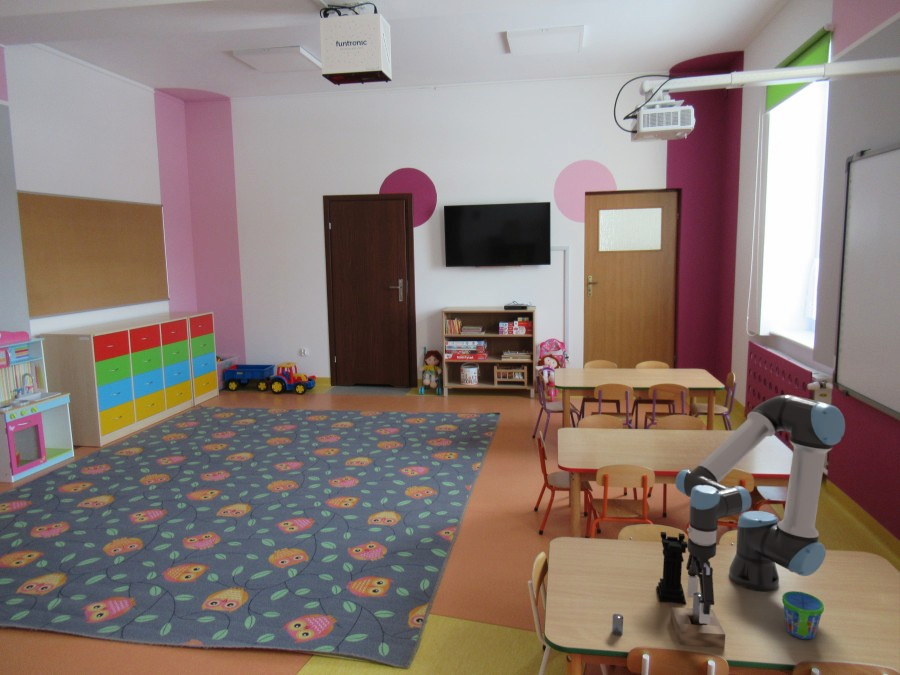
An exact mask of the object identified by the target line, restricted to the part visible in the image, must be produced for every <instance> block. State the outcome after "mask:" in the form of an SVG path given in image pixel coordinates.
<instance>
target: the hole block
mask: <svg viewBox="0 0 900 675" xmlns="http://www.w3.org/2000/svg"><path fill="white" fill-rule="evenodd" d="M692 613H693V607H692V608H689V607H671V608H670V621H671V623H672V626H673V629H674V631H675V634H676V636H677V639H678V642H679V644H680V645H683V646H696V647H697V646H698V647H699V646H700V647H712V648H713V647H715V648H716V647H717V648H725V647H726V646H725V645H726V633H725V630H724V629H723V626H722V625H721V622H720V621H719V619H718V617H717V615H716V613H715V611H714V610H713V609H711V614H710V624H705V623H703V625H693V624H692Z"/></svg>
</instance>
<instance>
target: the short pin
mask: <svg viewBox="0 0 900 675" xmlns="http://www.w3.org/2000/svg"><path fill="white" fill-rule="evenodd" d="M611 623H612V625H611V627H612V628H611V633H612V634H613V635H614V636H617V637H618V636H619V637H620V636H622V635H623V633H624V616H623V615H622V614H620V613H613V614H612V621H611Z"/></svg>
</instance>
